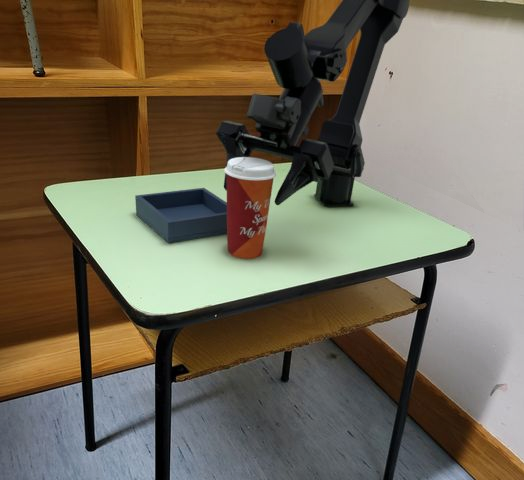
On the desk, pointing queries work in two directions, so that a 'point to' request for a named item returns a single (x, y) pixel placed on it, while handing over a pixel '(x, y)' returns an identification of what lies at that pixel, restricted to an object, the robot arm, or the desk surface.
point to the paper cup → (248, 205)
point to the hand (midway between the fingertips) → (250, 196)
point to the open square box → (183, 214)
